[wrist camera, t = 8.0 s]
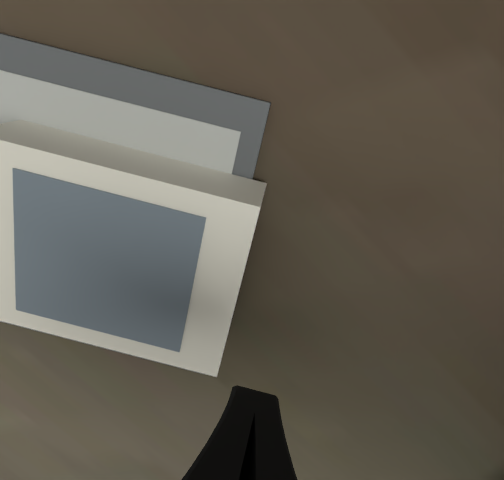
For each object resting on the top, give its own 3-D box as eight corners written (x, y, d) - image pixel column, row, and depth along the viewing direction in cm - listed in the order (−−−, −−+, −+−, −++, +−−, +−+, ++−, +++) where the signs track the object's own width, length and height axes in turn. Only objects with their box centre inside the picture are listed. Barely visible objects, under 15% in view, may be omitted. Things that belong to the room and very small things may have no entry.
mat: (271, 102, 18) (270, 103, 17) (206, 370, 24) (205, 375, 24) (-119, 2, 18) (-129, 0, 17) (-77, 296, 24) (-84, 300, 24)
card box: (260, 208, 15) (-38, 130, 15) (216, 378, 19) (-24, 316, 19) (266, 183, 19) (21, 119, 19) (228, 332, 22) (23, 279, 22)
